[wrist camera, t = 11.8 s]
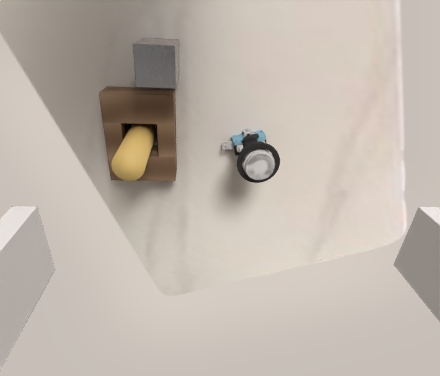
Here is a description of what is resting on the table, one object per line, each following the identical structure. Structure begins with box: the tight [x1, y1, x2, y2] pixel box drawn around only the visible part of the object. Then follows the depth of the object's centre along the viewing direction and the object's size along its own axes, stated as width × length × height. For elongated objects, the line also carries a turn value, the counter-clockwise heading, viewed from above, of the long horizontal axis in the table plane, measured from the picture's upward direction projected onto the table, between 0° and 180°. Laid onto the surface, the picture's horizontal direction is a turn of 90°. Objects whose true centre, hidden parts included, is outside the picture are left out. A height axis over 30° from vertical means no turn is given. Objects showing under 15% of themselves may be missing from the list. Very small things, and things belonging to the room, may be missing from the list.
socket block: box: [99, 87, 177, 181], centre depth 43 cm, size 12×9×4 cm
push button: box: [222, 129, 280, 183], centre depth 42 cm, size 7×5×10 cm
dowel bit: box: [111, 124, 156, 181], centre depth 39 cm, size 4×4×12 cm
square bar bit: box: [133, 38, 179, 88], centre depth 36 cm, size 4×4×9 cm
